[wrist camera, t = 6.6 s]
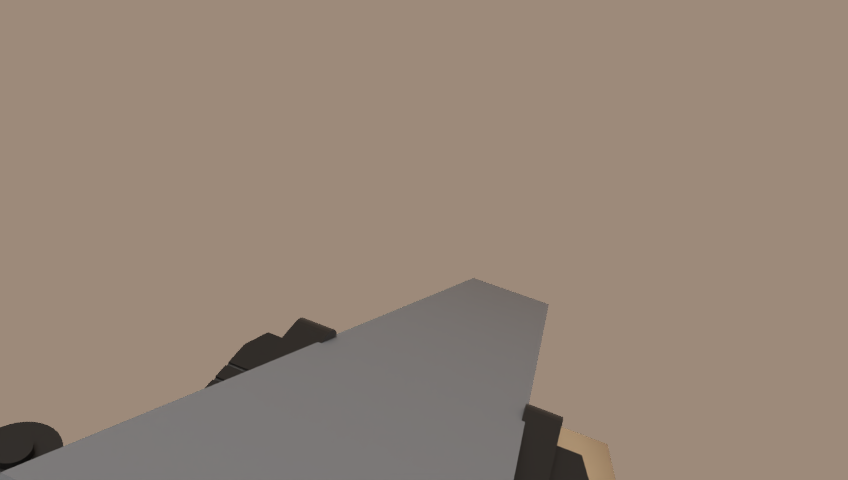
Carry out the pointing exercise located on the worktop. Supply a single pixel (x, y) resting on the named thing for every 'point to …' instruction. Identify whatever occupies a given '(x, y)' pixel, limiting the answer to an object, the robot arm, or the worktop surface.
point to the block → (345, 405)
